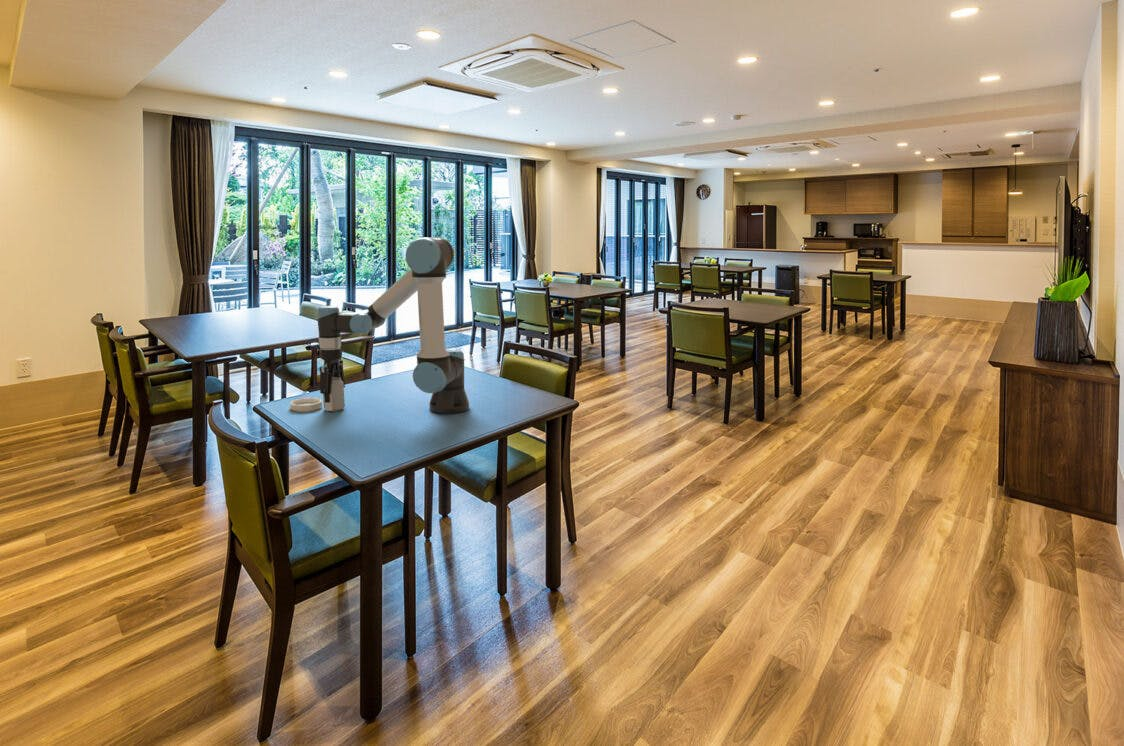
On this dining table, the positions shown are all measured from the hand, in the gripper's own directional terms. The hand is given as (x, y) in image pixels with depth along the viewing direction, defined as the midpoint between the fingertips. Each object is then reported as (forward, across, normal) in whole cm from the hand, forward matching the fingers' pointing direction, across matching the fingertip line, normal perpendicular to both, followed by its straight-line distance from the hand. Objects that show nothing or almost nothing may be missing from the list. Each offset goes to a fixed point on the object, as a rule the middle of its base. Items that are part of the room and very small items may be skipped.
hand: (334, 407), depth 233 cm
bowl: (+1, 0, -11) cm, 11 cm away
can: (+1, 0, 0) cm, 1 cm away
